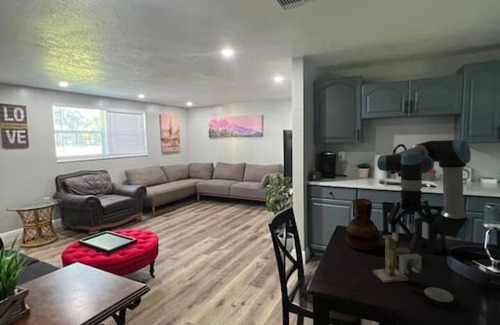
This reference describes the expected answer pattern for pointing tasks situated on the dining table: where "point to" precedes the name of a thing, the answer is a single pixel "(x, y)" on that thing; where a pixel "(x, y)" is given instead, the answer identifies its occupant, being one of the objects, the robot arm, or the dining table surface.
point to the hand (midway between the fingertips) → (410, 238)
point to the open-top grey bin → (409, 257)
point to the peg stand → (391, 272)
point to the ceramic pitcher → (362, 227)
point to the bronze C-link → (397, 251)
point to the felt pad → (439, 294)
